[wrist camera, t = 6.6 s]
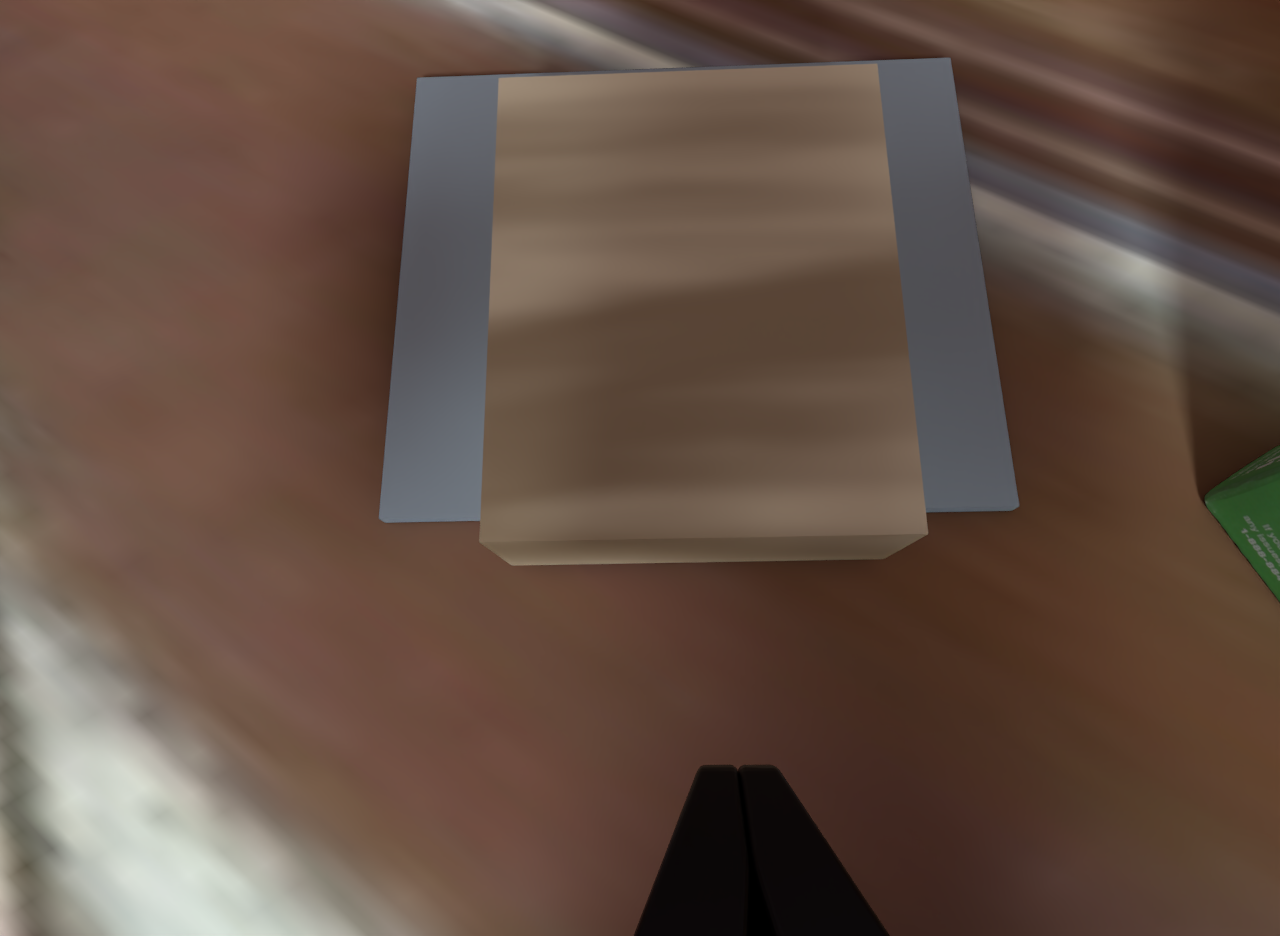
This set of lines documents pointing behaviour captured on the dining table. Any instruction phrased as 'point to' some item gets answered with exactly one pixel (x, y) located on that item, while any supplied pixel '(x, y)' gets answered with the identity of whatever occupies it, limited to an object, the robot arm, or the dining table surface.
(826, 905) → the robot arm
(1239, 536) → the ink box
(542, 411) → the maple slab
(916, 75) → the rubber mat
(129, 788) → the dining table surface
